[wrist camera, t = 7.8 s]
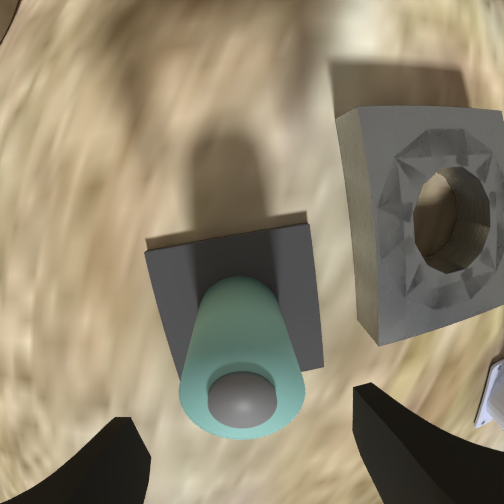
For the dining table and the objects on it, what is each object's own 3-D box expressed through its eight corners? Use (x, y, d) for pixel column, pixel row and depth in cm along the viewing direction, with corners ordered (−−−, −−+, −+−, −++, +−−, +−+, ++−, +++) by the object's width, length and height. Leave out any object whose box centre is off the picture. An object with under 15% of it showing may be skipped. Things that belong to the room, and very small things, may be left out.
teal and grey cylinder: (275, 271, 17) (304, 341, 10) (282, 343, 18) (308, 438, 11) (192, 280, 17) (163, 356, 10) (206, 352, 18) (192, 449, 11)
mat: (307, 222, 18) (309, 223, 17) (321, 362, 20) (324, 367, 19) (147, 250, 18) (144, 252, 17) (184, 383, 20) (182, 389, 19)
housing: (468, 117, 16) (501, 111, 13) (477, 286, 19) (507, 302, 16) (335, 119, 16) (357, 106, 13) (357, 320, 19) (378, 346, 16)
